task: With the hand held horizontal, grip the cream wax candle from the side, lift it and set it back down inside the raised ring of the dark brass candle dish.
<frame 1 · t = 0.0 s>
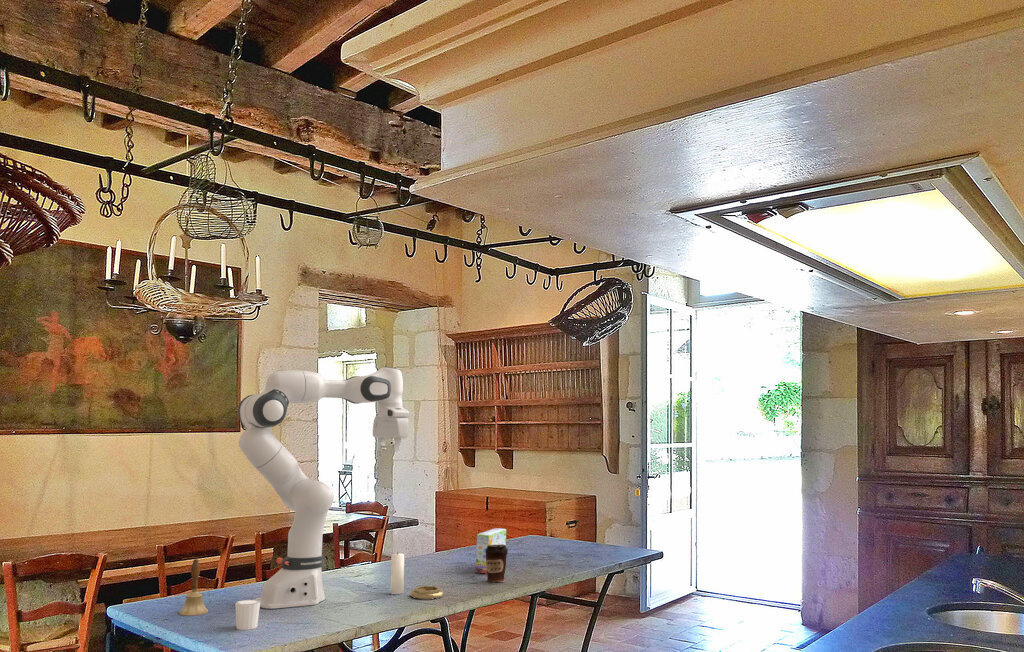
hand: (389, 450, 288), 48 cm above the table, tool pointing down, fingers open, 8 cm apart
snack box: (491, 570, 321), on the table
candle dish: (427, 596, 270), on the table
candle: (397, 593, 275), on the table
coffee cup: (496, 581, 296), on the table
white tapered cup: (246, 627, 228), on the table
hand bell: (193, 613, 245), on the table
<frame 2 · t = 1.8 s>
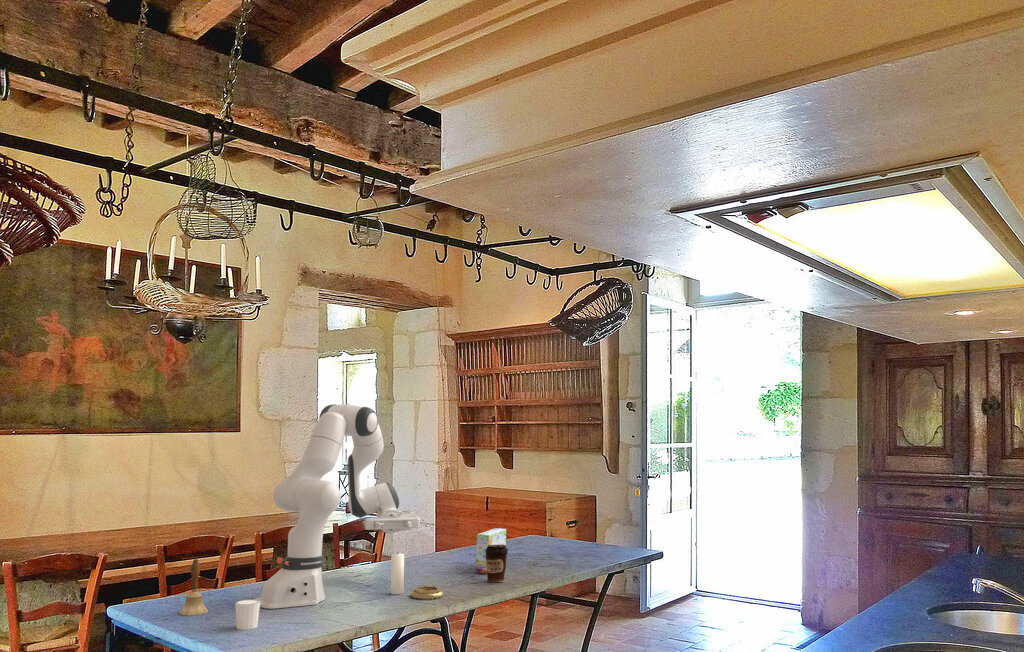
hand: (394, 525, 289), 21 cm above the table, tool horizontal, fingers open, 8 cm apart
nothing on the table moved.
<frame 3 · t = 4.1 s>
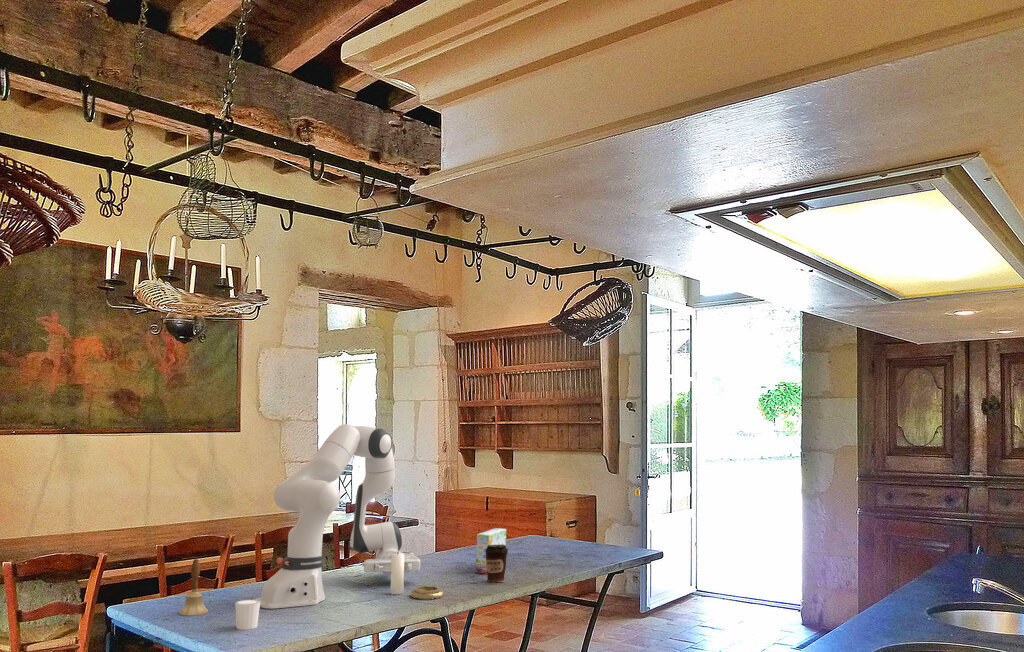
hand: (394, 568, 283), 7 cm above the table, tool horizontal, fingers open, 8 cm apart
nothing on the table moved.
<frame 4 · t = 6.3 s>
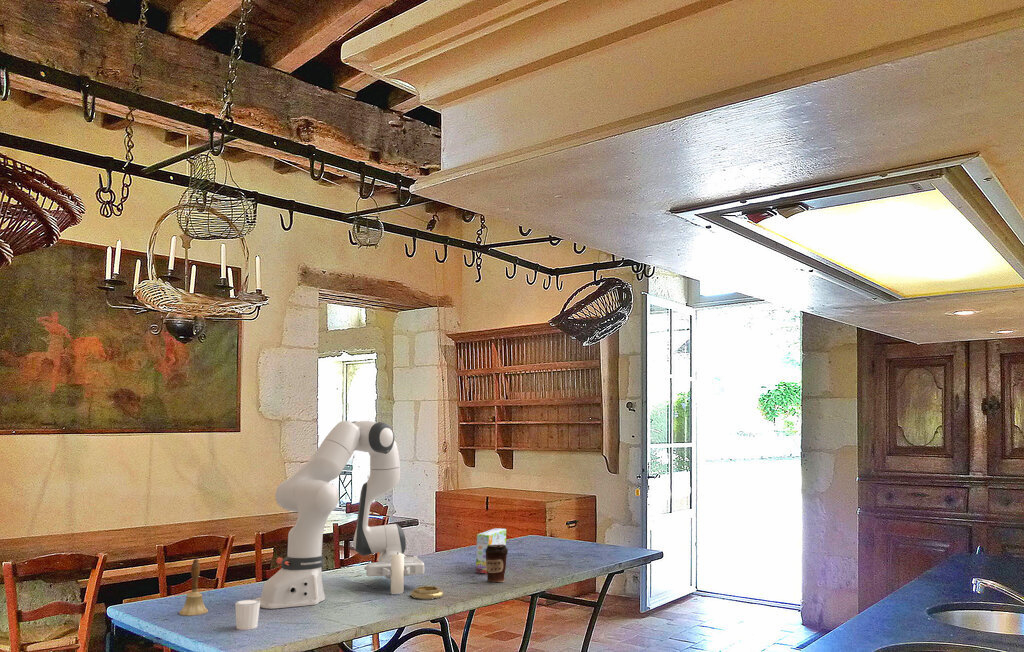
hand: (397, 572, 275), 7 cm above the table, tool horizontal, fingers closed on candle, 4 cm apart
candle: (397, 593, 275), on the table, touching gripper
everything else where it was.
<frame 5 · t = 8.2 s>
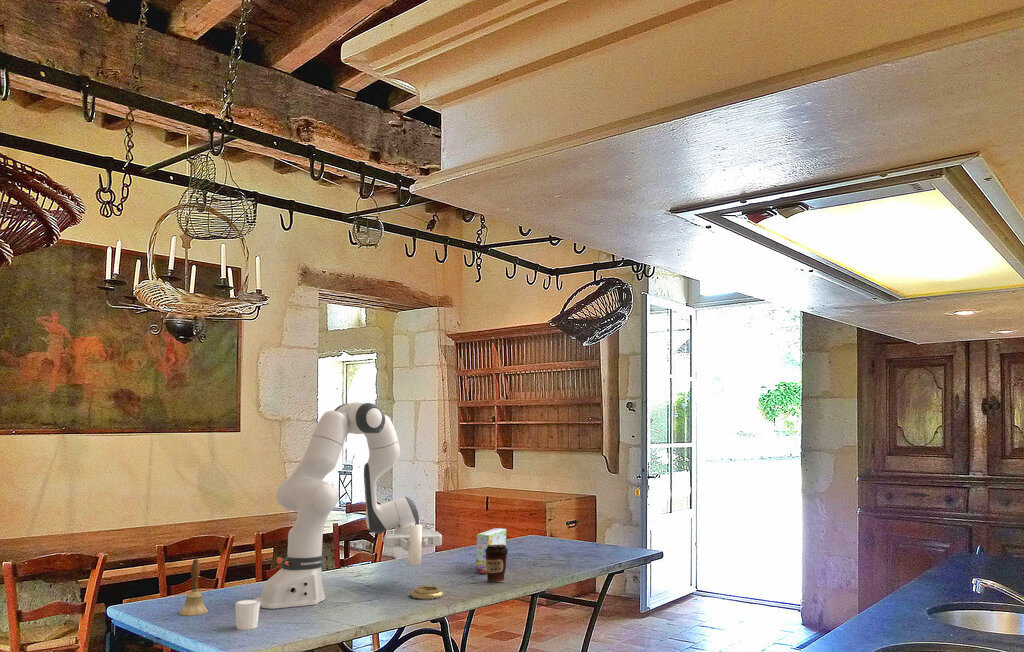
hand: (415, 543, 274), 17 cm above the table, tool horizontal, fingers closed on candle, 4 cm apart
candle: (415, 564, 274), point 10 cm above the table, touching gripper
everything else where it was.
when the fingers open (10 cm above the table, at t = 10.3 s): candle drops 1 cm, resting on candle dish.
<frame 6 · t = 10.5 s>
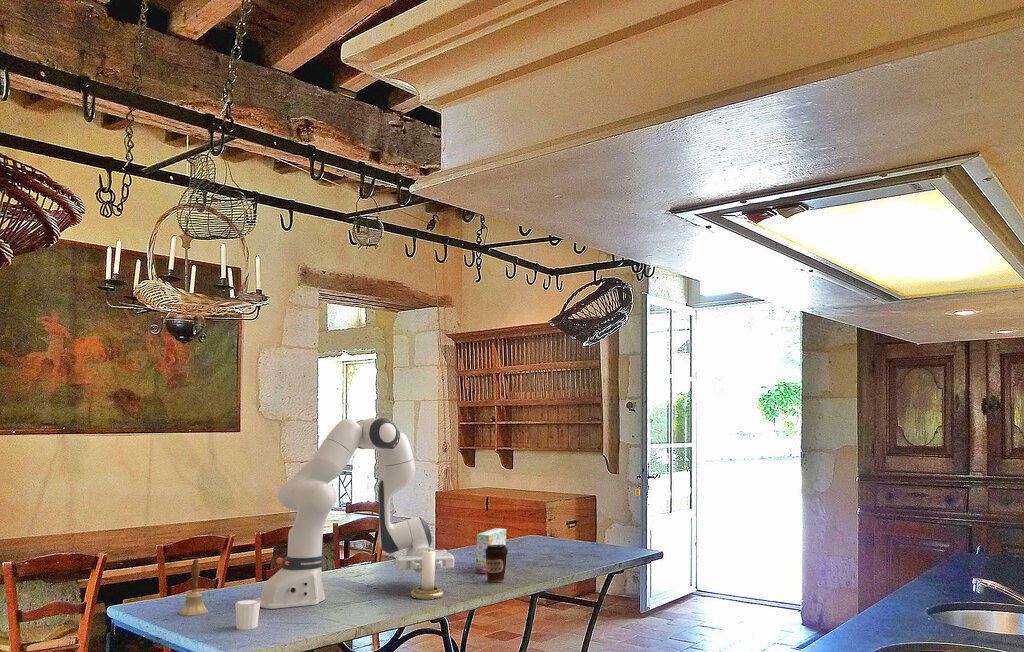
hand: (428, 566, 271), 10 cm above the table, tool horizontal, fingers open, 6 cm apart
candle: (427, 591, 271), point 2 cm above the table, touching candle dish
everything else where it was.
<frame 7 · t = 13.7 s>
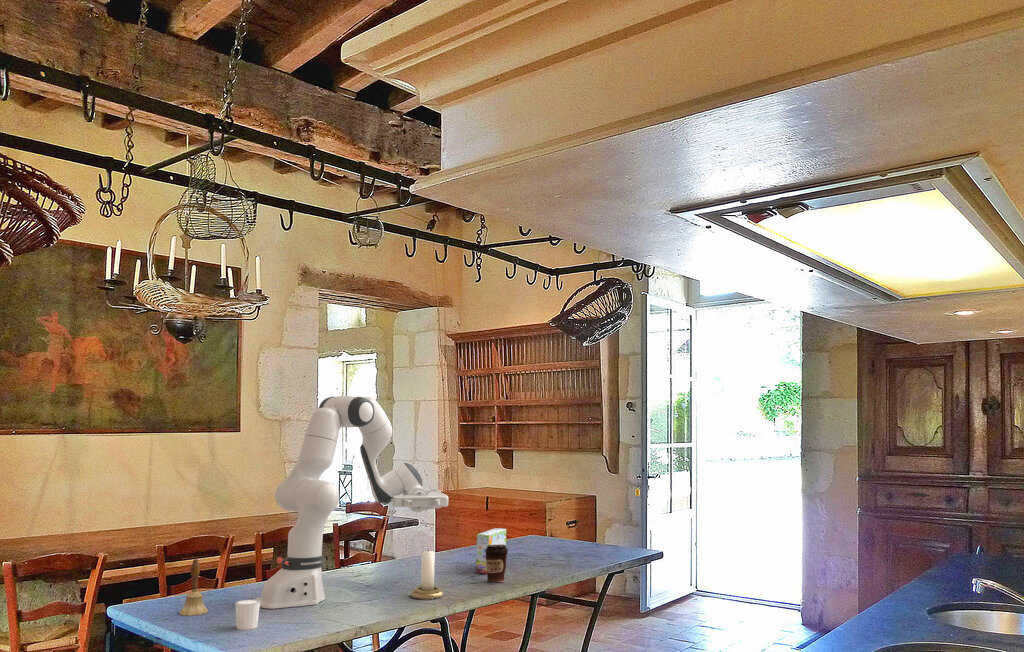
hand: (423, 503, 285), 30 cm above the table, tool horizontal, fingers open, 8 cm apart
nothing on the table moved.
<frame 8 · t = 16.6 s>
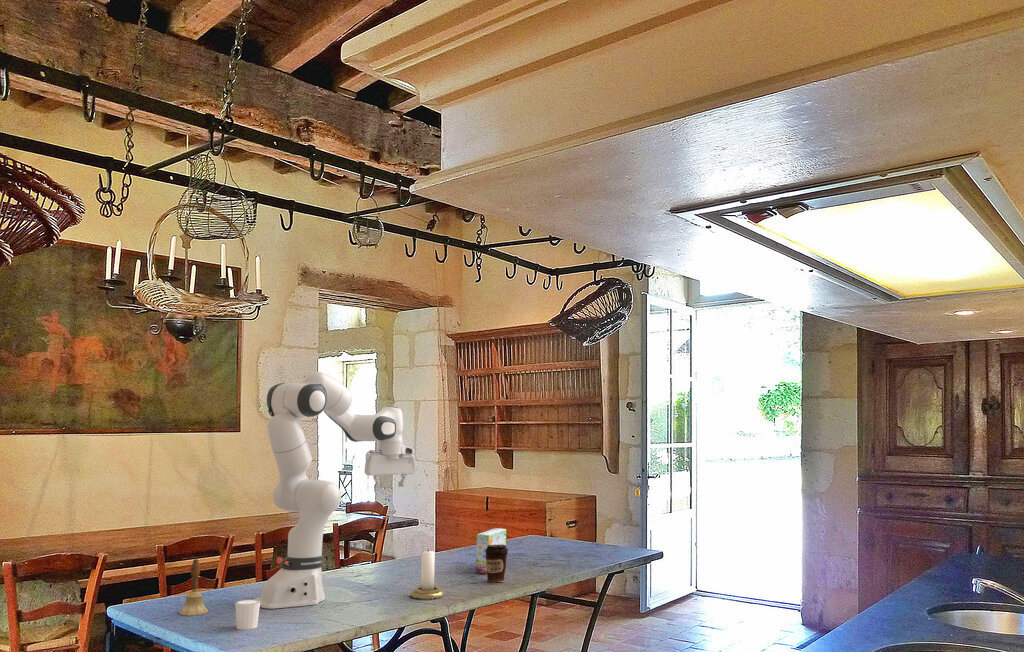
hand: (390, 487, 300), 34 cm above the table, tool pointing down, fingers open, 8 cm apart
nothing on the table moved.
at the end: candle 0.0 cm from the candle dish (horizontally); candle point 1.5 cm above the table; candle tilted 0° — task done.
